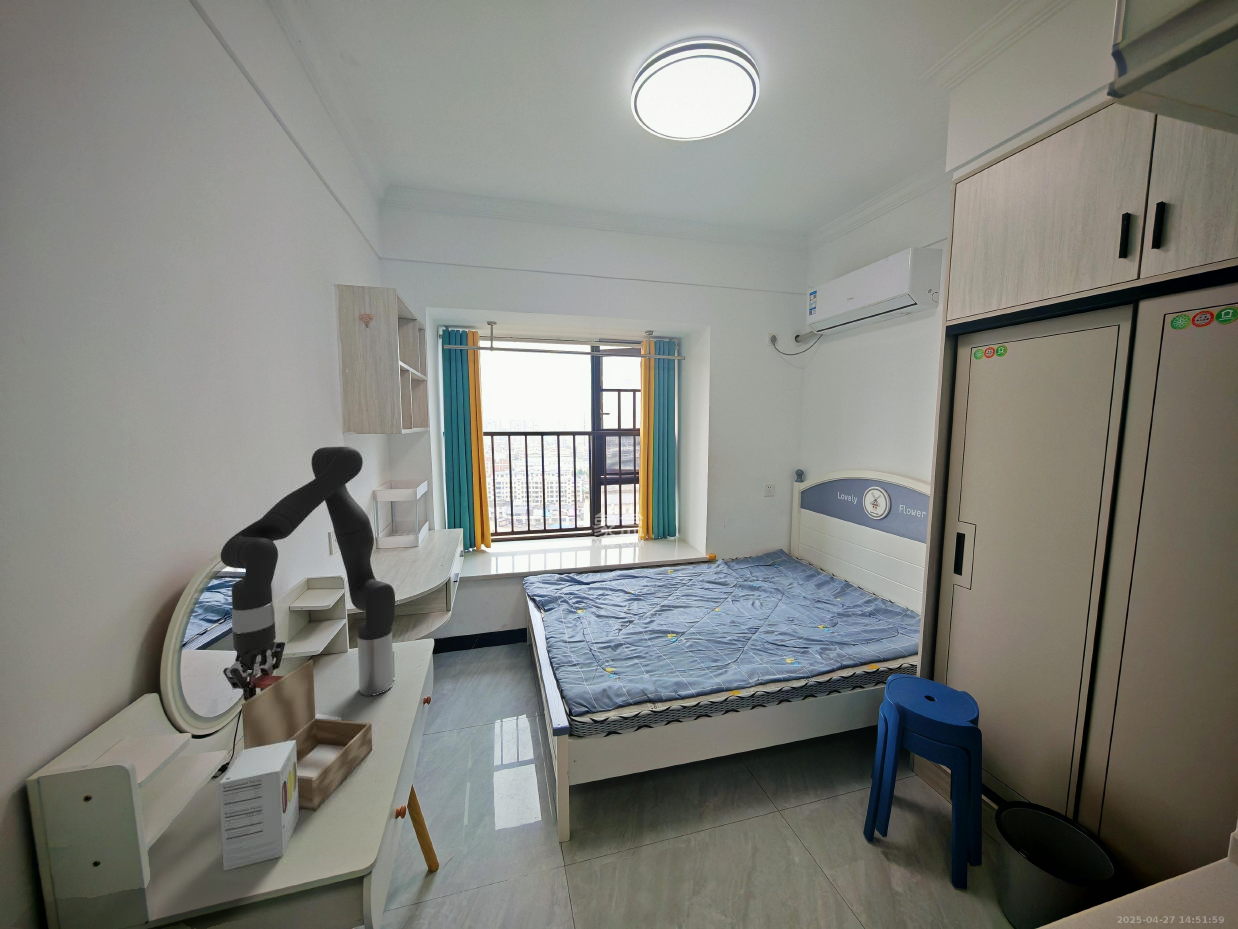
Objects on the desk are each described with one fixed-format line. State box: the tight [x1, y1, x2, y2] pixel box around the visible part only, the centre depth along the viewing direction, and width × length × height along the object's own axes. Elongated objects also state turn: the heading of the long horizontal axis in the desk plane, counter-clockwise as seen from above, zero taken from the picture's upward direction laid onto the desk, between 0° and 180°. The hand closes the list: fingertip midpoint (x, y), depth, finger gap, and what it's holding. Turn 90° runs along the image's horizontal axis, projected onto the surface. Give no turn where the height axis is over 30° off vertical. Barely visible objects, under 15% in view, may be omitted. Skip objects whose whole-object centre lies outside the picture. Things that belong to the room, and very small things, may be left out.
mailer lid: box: [241, 659, 316, 750], centre depth 103 cm, size 18×15×7 cm
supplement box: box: [218, 740, 300, 871], centre depth 86 cm, size 10×9×17 cm
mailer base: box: [288, 718, 373, 812], centre depth 103 cm, size 18×15×7 cm
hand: (258, 696), depth 103 cm, fingers closed on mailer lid, 3 cm apart
